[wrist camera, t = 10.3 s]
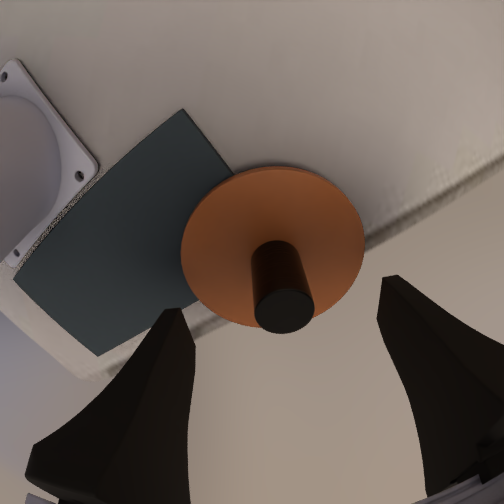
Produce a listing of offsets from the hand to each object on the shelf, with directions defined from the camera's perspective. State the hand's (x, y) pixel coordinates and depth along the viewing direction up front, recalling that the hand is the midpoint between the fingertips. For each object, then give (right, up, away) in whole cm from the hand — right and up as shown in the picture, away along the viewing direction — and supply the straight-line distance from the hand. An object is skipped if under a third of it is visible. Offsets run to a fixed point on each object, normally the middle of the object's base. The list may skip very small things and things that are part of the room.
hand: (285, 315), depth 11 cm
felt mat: (-8, +2, +5) cm, 9 cm away
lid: (0, +2, +4) cm, 4 cm away
